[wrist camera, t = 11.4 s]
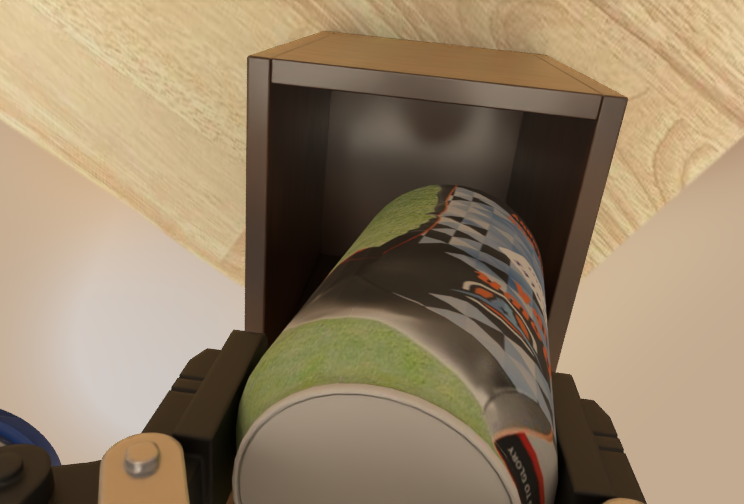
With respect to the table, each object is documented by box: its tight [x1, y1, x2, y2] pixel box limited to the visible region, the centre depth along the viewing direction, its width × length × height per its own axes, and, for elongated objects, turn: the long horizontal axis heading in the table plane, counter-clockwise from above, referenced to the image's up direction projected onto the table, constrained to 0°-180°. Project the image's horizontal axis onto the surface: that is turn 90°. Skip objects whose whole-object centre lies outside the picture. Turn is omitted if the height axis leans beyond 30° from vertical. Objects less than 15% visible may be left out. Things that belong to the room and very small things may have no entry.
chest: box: [245, 31, 628, 372], centre depth 28 cm, size 14×12×14 cm
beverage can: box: [232, 184, 558, 504], centre depth 15 cm, size 6×7×12 cm
